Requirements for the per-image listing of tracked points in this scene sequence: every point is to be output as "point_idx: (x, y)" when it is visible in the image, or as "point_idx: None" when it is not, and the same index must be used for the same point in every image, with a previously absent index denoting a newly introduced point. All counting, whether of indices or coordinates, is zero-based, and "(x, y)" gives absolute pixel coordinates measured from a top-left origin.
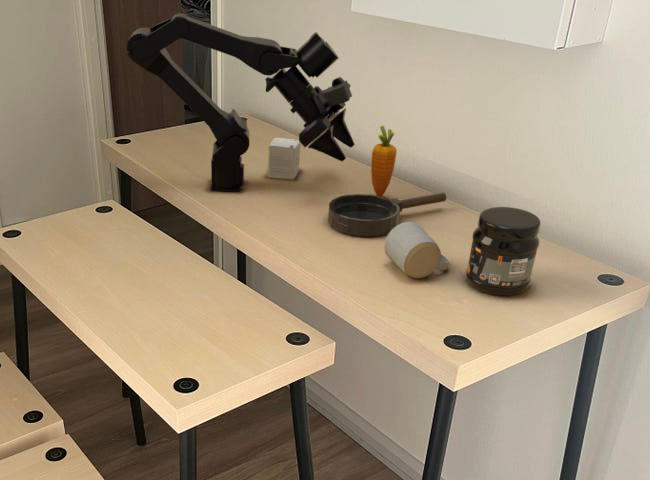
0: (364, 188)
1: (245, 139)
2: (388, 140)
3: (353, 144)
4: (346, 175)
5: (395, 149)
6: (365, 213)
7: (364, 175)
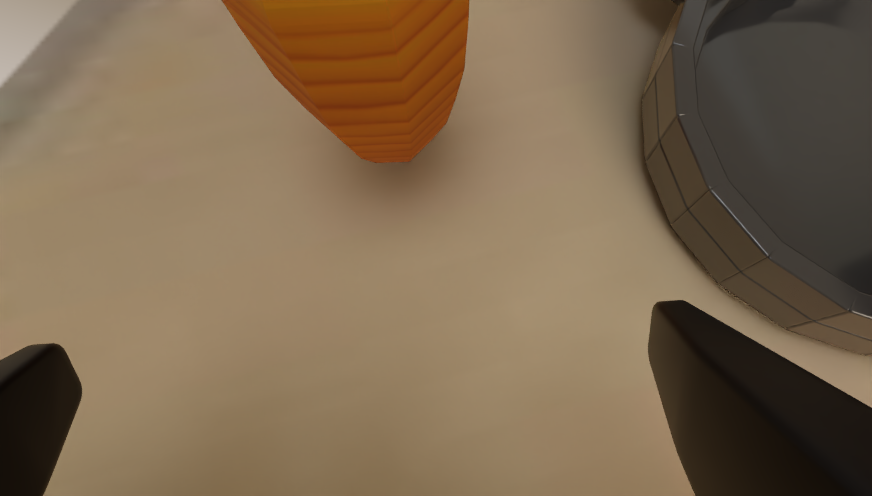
0: (259, 280)
1: None
2: None
3: (57, 353)
4: None
5: None
6: (727, 152)
7: (6, 344)
